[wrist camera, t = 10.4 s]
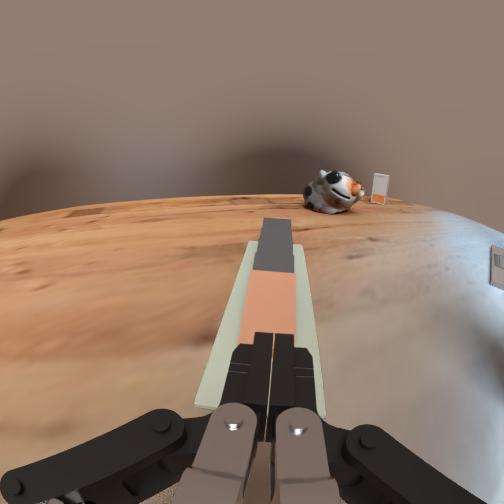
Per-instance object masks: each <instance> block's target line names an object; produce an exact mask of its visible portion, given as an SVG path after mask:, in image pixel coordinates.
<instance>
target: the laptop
mask: <svg viewBox="0 0 504 504" xmlns="http://www.w3.org/2000/svg"><path fill="white" fill-rule="evenodd" d="M490 285H492V286H494V287H497V288H499V289H502V290H504V249H503V248H500V247H497V246H495V245H492V246H491V281H490Z"/></svg>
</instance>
